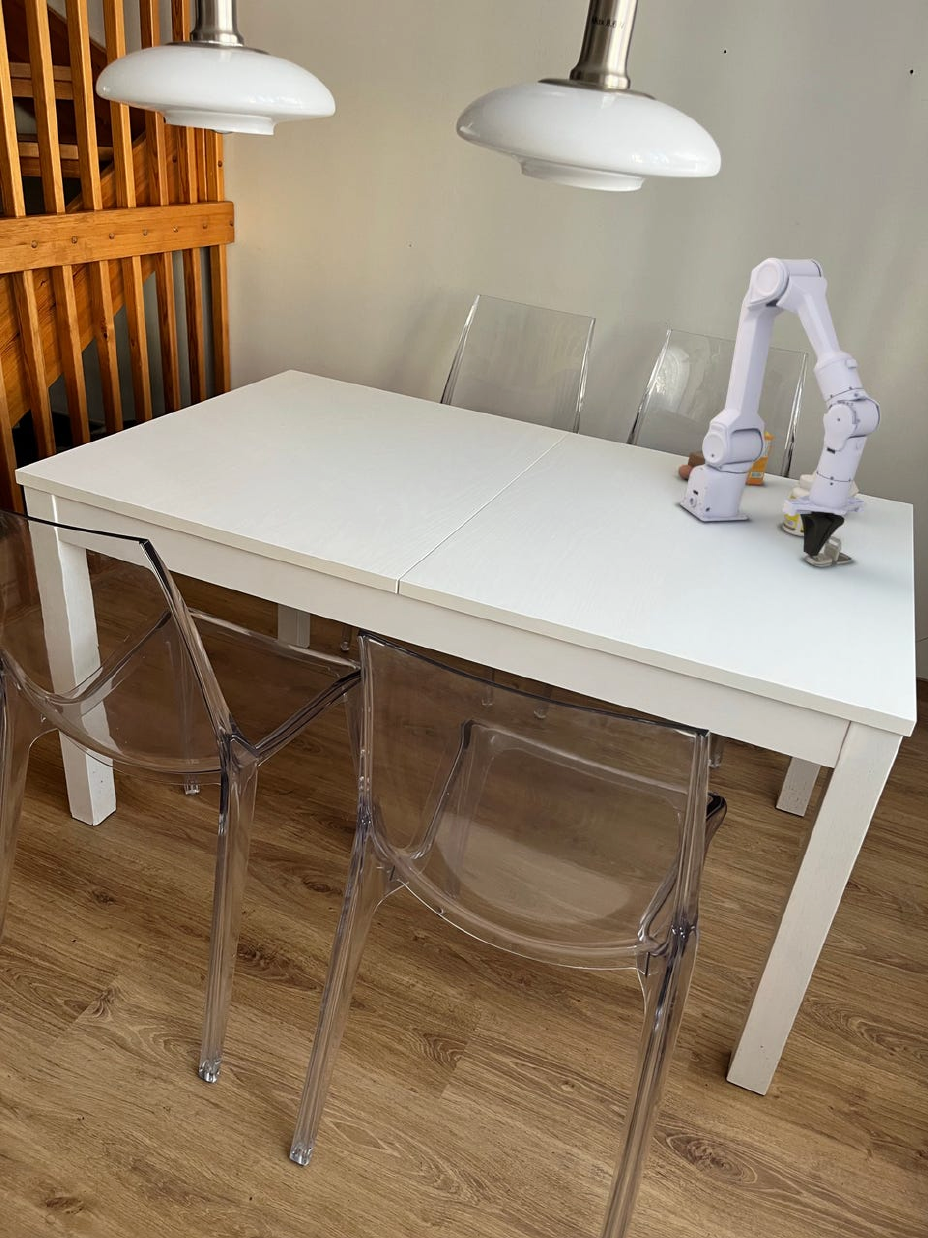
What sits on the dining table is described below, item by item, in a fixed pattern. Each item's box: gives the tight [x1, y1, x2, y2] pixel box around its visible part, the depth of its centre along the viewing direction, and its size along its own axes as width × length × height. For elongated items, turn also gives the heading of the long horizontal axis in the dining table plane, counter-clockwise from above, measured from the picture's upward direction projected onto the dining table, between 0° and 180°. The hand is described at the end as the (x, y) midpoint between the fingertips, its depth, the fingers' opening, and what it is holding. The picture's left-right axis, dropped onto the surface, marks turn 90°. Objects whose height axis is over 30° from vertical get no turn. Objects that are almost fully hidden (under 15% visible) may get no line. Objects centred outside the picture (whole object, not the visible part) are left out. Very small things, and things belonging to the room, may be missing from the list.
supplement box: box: [745, 431, 774, 486], centre depth 189 cm, size 3×3×10 cm
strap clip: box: [804, 535, 853, 568], centre depth 159 cm, size 8×3×4 cm, turn 117°
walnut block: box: [687, 449, 706, 468], centre depth 189 cm, size 5×5×5 cm
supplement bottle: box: [782, 474, 814, 537], centre depth 169 cm, size 5×5×10 cm
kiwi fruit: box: [677, 464, 694, 480], centre depth 189 cm, size 6×5×3 cm
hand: (810, 553), depth 158 cm, fingers closed
